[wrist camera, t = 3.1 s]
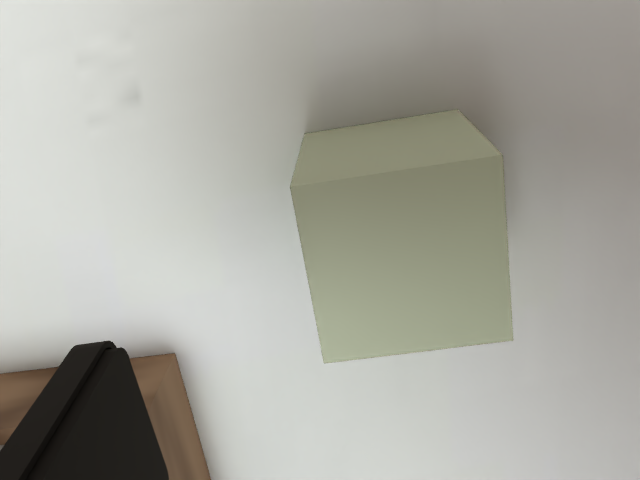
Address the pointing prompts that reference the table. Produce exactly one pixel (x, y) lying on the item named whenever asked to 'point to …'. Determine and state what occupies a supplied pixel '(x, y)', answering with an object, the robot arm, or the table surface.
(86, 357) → the robot arm
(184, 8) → the table surface
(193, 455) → the walnut block
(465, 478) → the table surface
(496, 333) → the sage block
